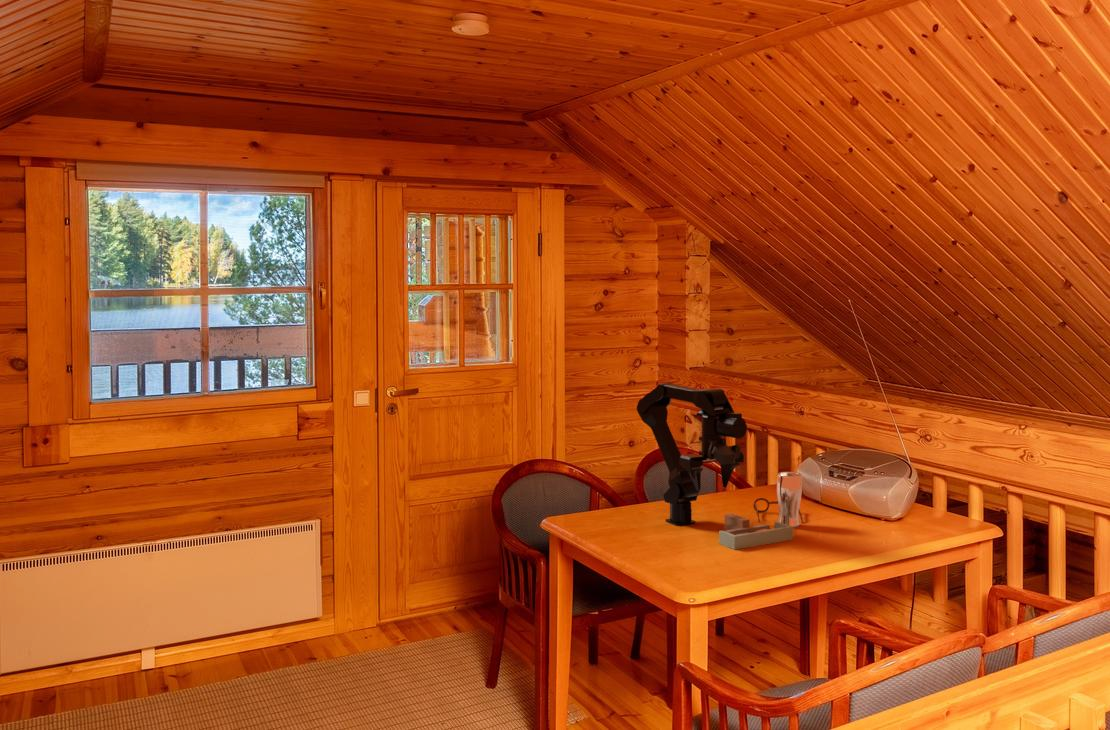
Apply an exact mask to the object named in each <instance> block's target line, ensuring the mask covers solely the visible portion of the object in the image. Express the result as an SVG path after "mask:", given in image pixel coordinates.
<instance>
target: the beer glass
mask: <svg viewBox="0 0 1110 730" xmlns="http://www.w3.org/2000/svg"><path fill="white" fill-rule="evenodd" d="M776 481H777V482H776V497H777V501H778V504H777V505H778V508H779V509H778V510H779V514H778V515H779V516H778V520H777V522H780V523H783V524H786V525H789V526H792V527H793V529H795V528H797V529H798V528H800V520H799V519H800V517H799V510H800V505H801V501H802V500H801V499H802V491H803V490H802V489H803V485H802V484H803V483H802V481H803V479H802V474H801V473H800V472H795V471H780V472H778V473H777V480H776Z"/></svg>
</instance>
